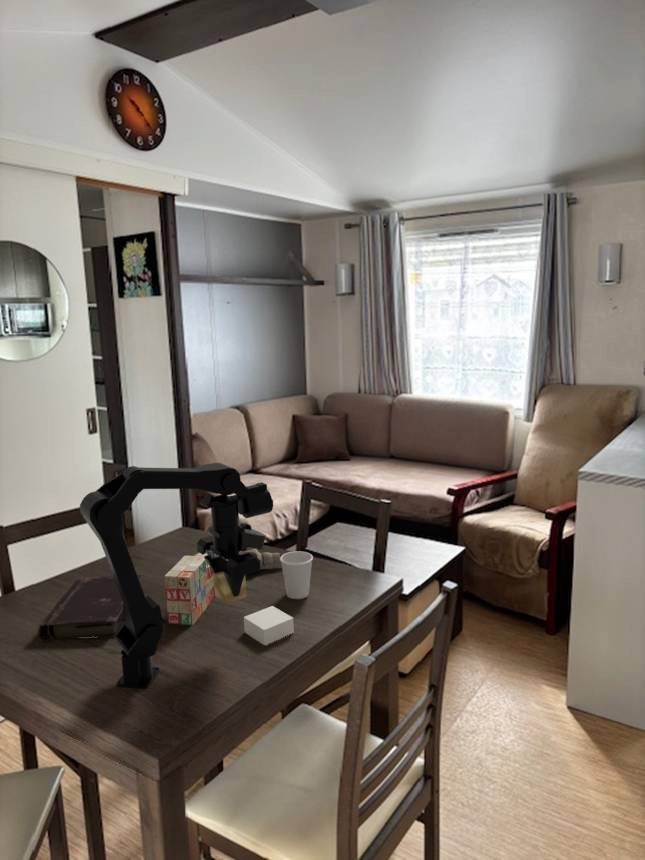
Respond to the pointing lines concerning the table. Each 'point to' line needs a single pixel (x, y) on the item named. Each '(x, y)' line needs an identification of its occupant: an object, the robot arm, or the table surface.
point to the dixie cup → (297, 573)
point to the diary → (86, 610)
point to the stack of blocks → (189, 589)
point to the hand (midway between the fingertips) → (230, 591)
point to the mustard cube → (227, 589)
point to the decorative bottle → (263, 556)
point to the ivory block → (268, 625)
